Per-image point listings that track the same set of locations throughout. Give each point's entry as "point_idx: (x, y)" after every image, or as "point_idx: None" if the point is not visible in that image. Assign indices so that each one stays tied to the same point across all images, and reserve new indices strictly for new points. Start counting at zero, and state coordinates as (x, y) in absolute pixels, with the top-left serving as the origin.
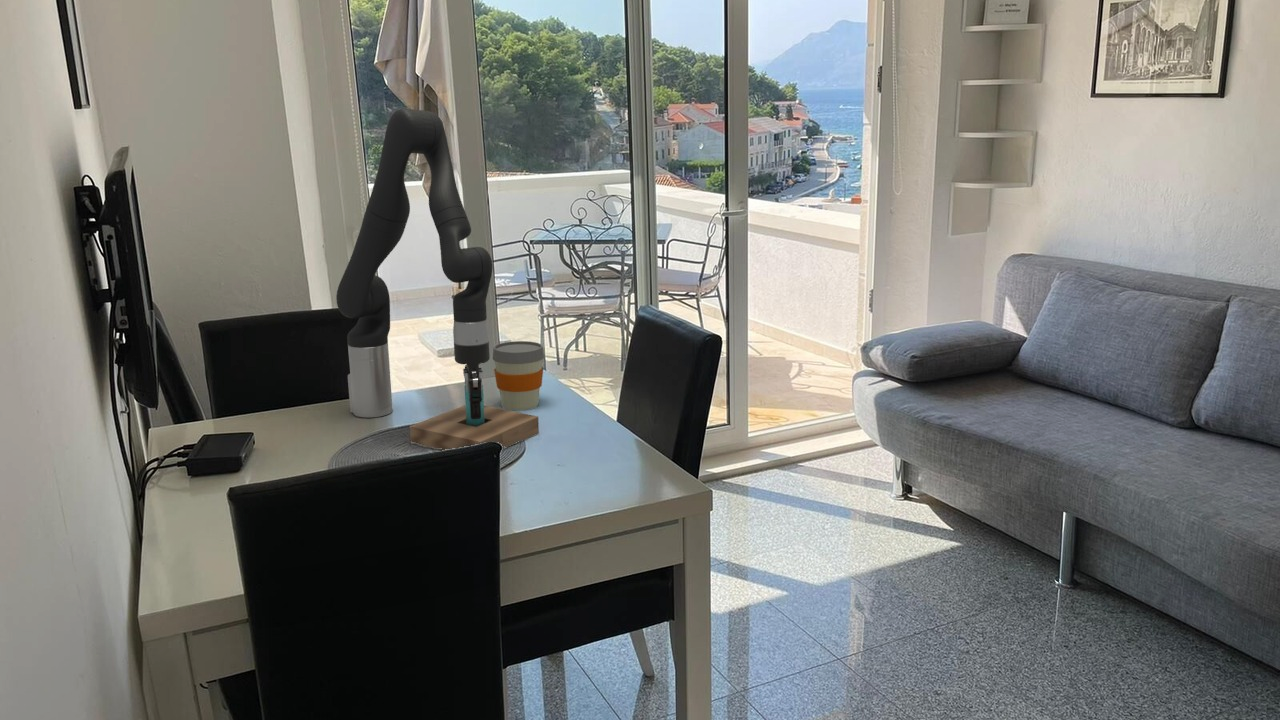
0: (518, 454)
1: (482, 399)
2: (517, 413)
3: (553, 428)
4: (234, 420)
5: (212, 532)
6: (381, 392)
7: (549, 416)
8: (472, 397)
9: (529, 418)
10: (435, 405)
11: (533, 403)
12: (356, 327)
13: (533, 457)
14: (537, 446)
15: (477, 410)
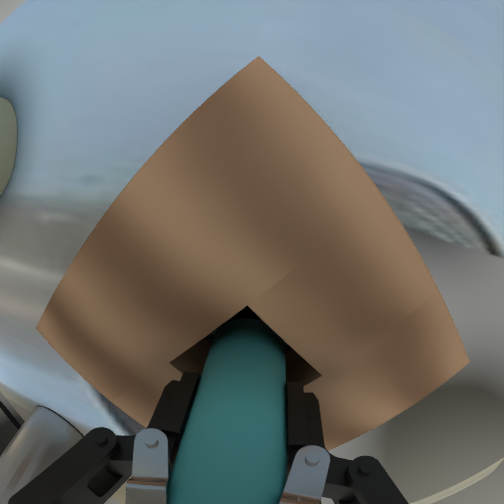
0: (457, 219)
1: (265, 439)
2: (167, 161)
3: (216, 25)
4: (116, 499)
5: (421, 500)
6: (56, 459)
7: (83, 46)
8: (356, 498)
9: (282, 107)
10: (6, 341)
11: (3, 105)
12: None
13: (489, 182)
14: (415, 132)
15: (319, 423)
